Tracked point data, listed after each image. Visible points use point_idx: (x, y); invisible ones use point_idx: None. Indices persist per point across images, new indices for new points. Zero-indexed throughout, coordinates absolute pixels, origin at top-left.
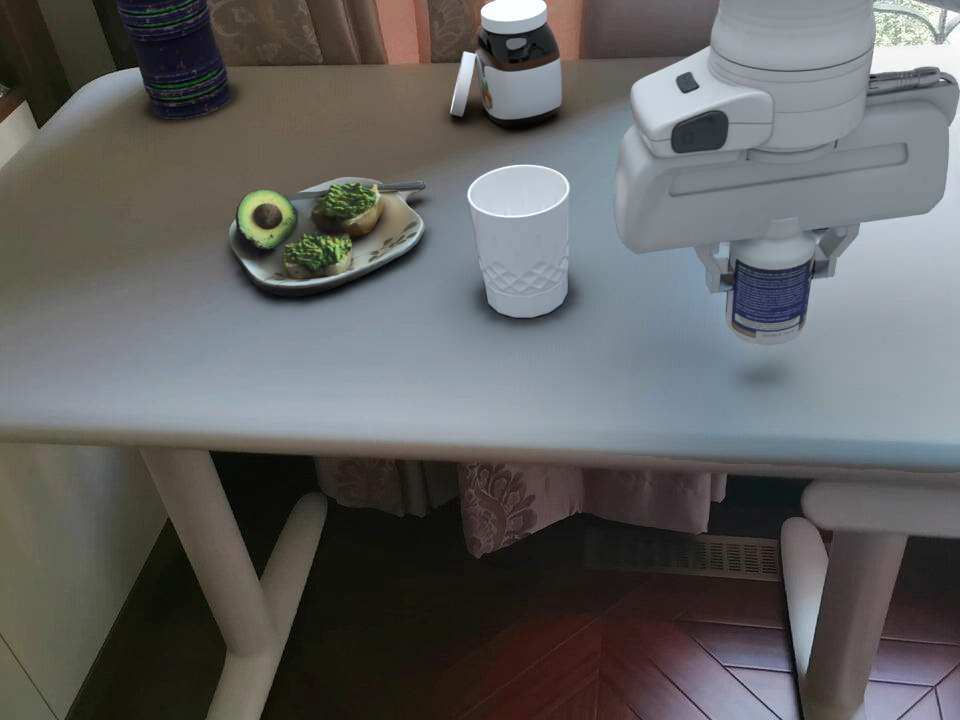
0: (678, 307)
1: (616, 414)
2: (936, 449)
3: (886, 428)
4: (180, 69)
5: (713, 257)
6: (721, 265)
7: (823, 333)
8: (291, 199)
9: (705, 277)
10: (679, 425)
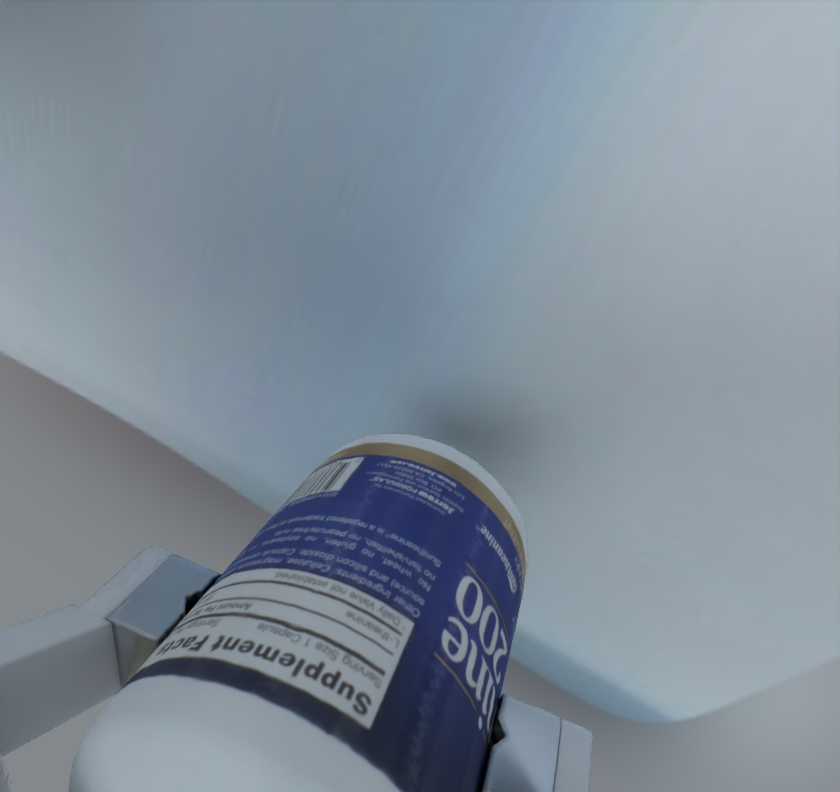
0: (396, 66)
1: (163, 386)
2: (645, 716)
3: (604, 650)
4: None
5: (65, 678)
6: (128, 657)
7: (722, 383)
8: None
9: (145, 550)
10: (262, 464)
